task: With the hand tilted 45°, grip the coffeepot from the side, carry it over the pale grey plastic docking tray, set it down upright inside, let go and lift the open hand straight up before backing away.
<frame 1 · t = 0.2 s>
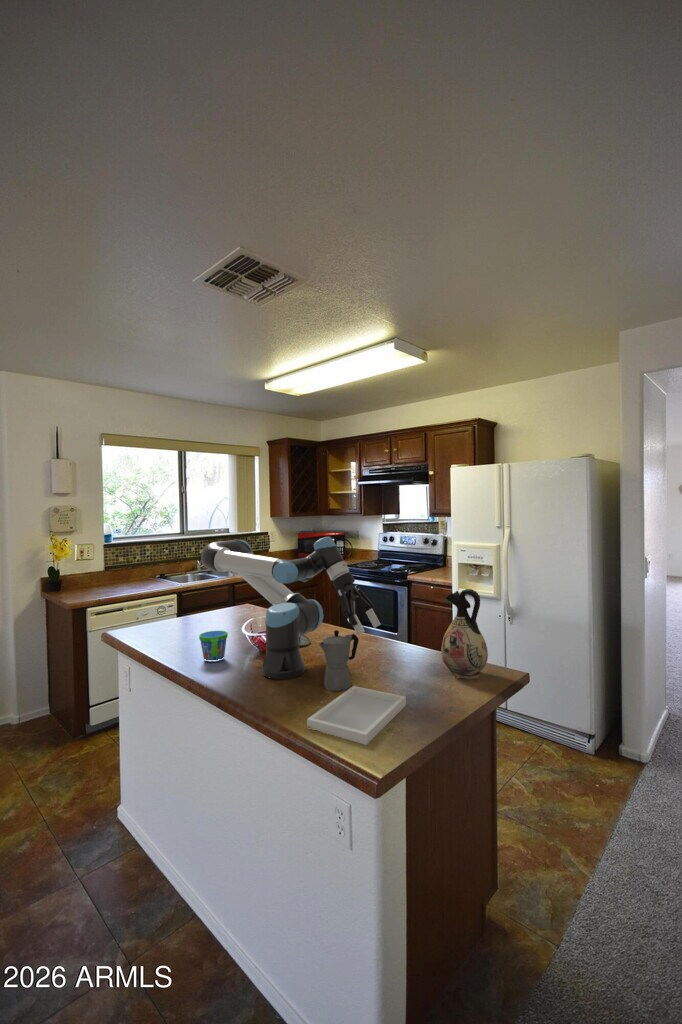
hand: (369, 629, 159), 15 cm above the table, tool tilted 35°, fingers open, 13 cm apart
coffeepot: (340, 685, 149), on the table, touching gripper
lid: (298, 644, 196), on the table
docking tray: (359, 716, 126), on the table
ceramic jug: (466, 676, 155), on the table
snack cup: (214, 660, 177), on the table
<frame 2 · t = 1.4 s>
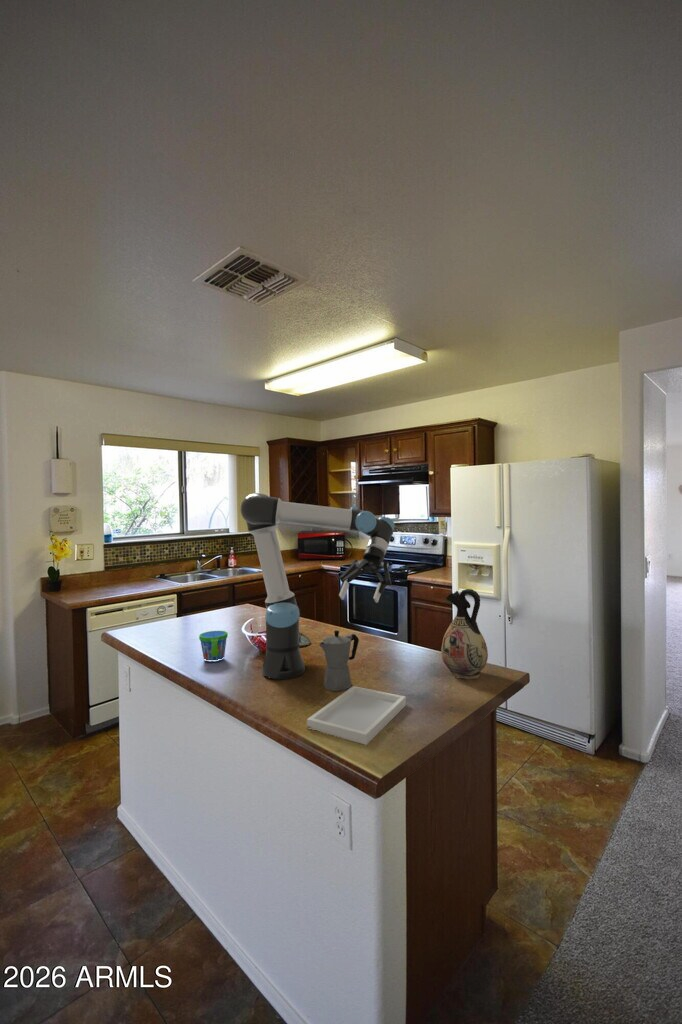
hand: (357, 599, 160), 26 cm above the table, tool tilted 45°, fingers open, 13 cm apart
coffeepot: (340, 685, 149), on the table
everything else where it was.
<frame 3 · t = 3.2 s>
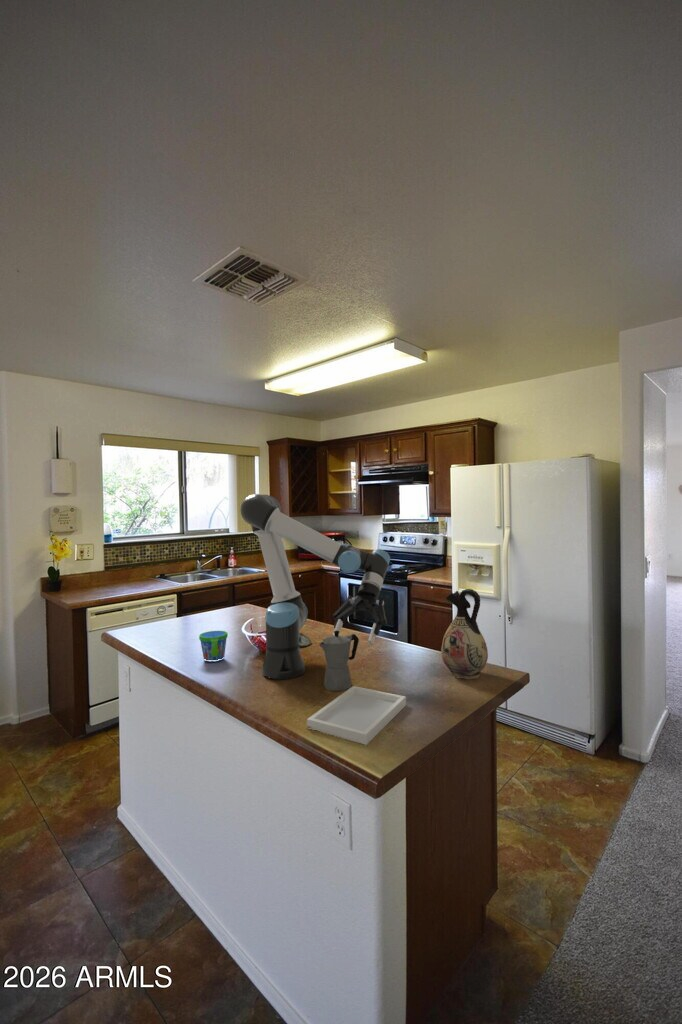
hand: (352, 640, 153), 13 cm above the table, tool tilted 45°, fingers open, 13 cm apart
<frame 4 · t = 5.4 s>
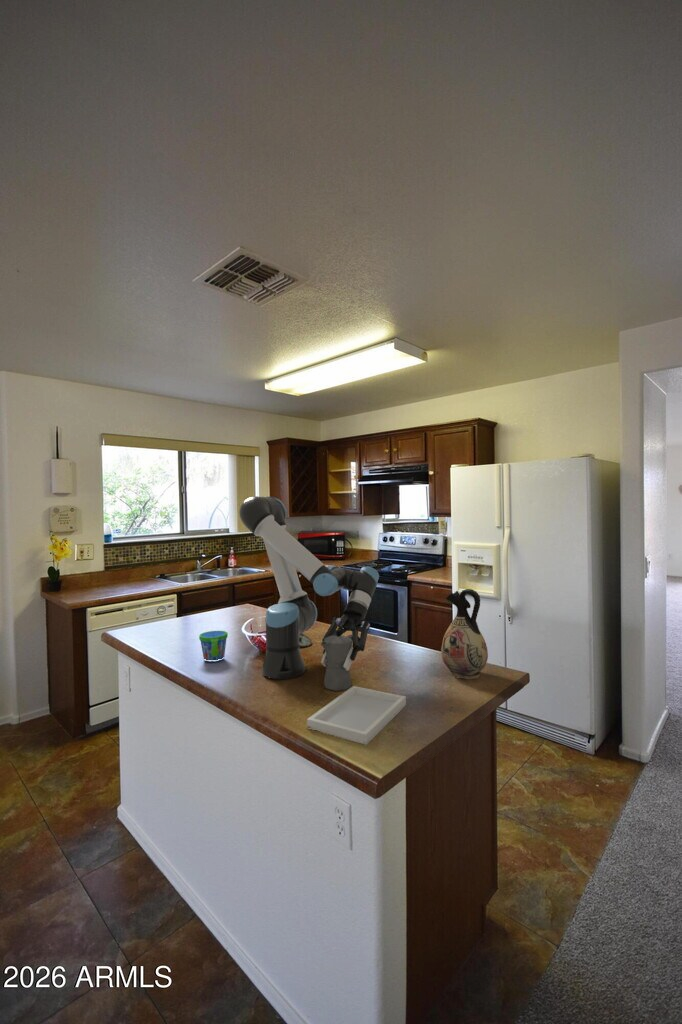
hand: (334, 666, 146), 7 cm above the table, tool tilted 45°, fingers closed on coffeepot, 8 cm apart
coffeepot: (340, 685, 149), on the table, touching gripper
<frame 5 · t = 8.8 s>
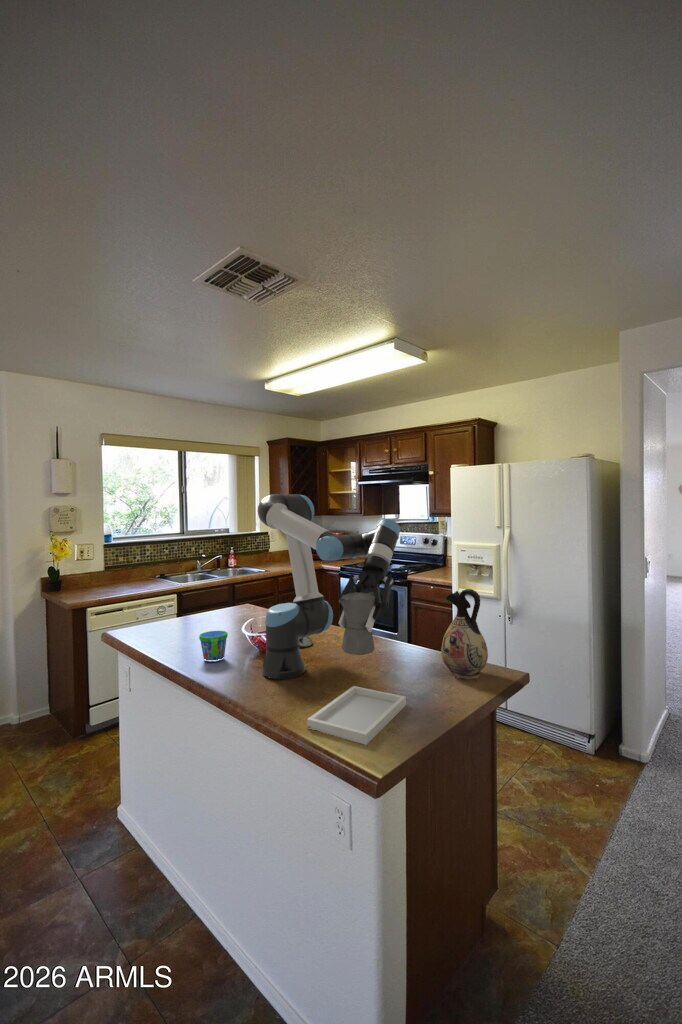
hand: (354, 627, 125), 25 cm above the table, tool tilted 45°, fingers closed on coffeepot, 8 cm apart
coffeepot: (361, 649, 129), point 18 cm above the table, touching gripper
when the fingers open (9 cm above the table, at t = 12.5 s): coffeepot drops 1 cm, resting on docking tray.
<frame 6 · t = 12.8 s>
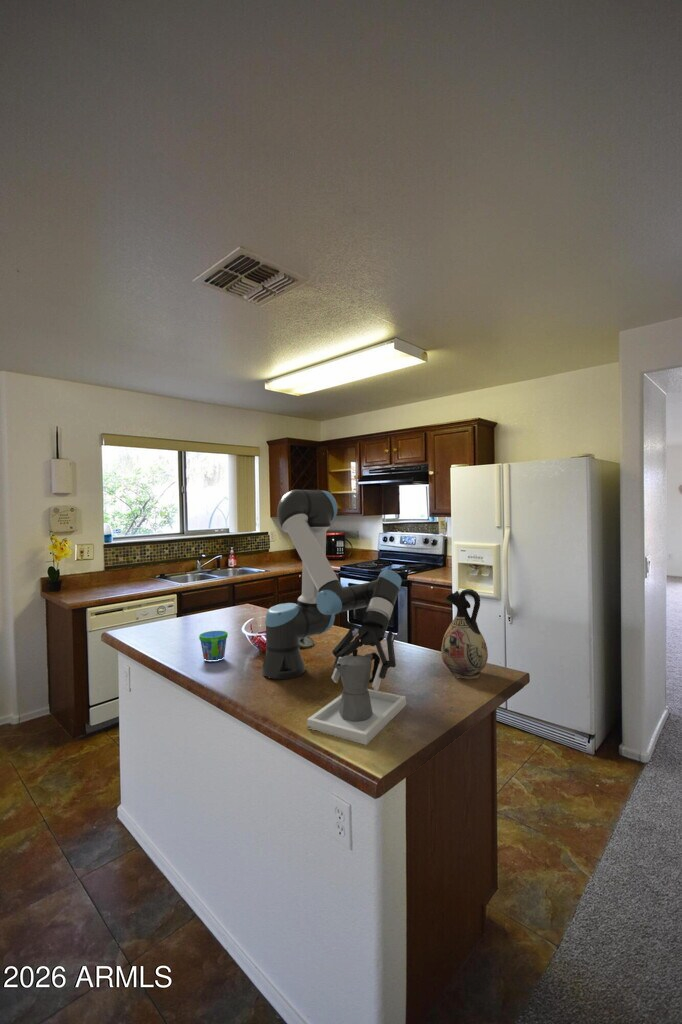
hand: (353, 684, 124), 10 cm above the table, tool tilted 45°, fingers open, 12 cm apart
coffeepot: (359, 713, 127), point 1 cm above the table, touching docking tray
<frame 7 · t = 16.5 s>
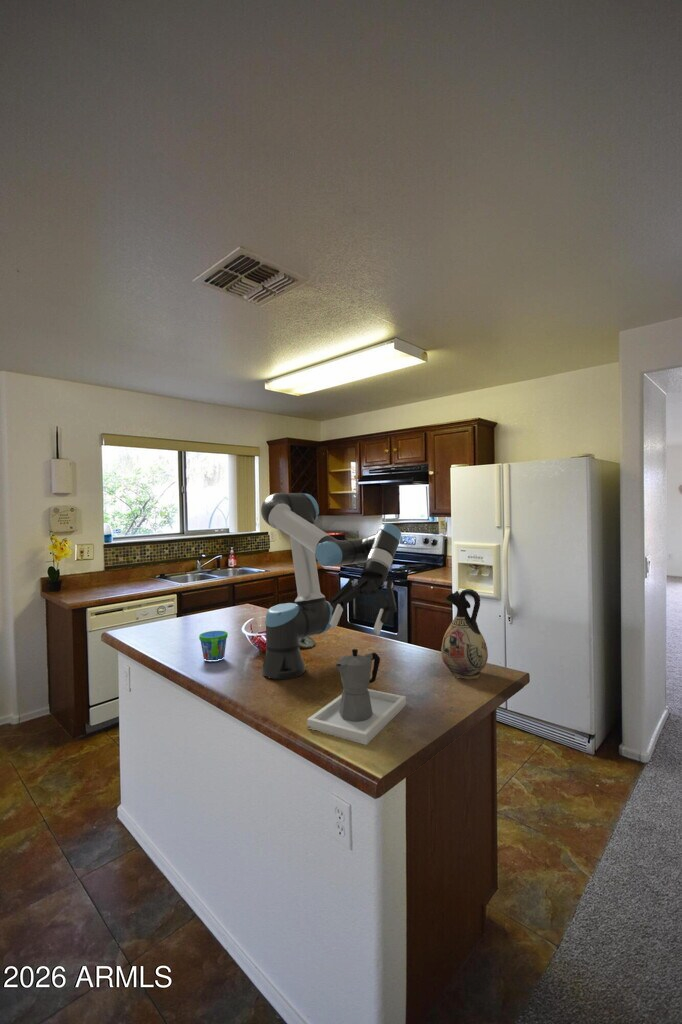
hand: (353, 629, 124), 25 cm above the table, tool tilted 45°, fingers open, 13 cm apart
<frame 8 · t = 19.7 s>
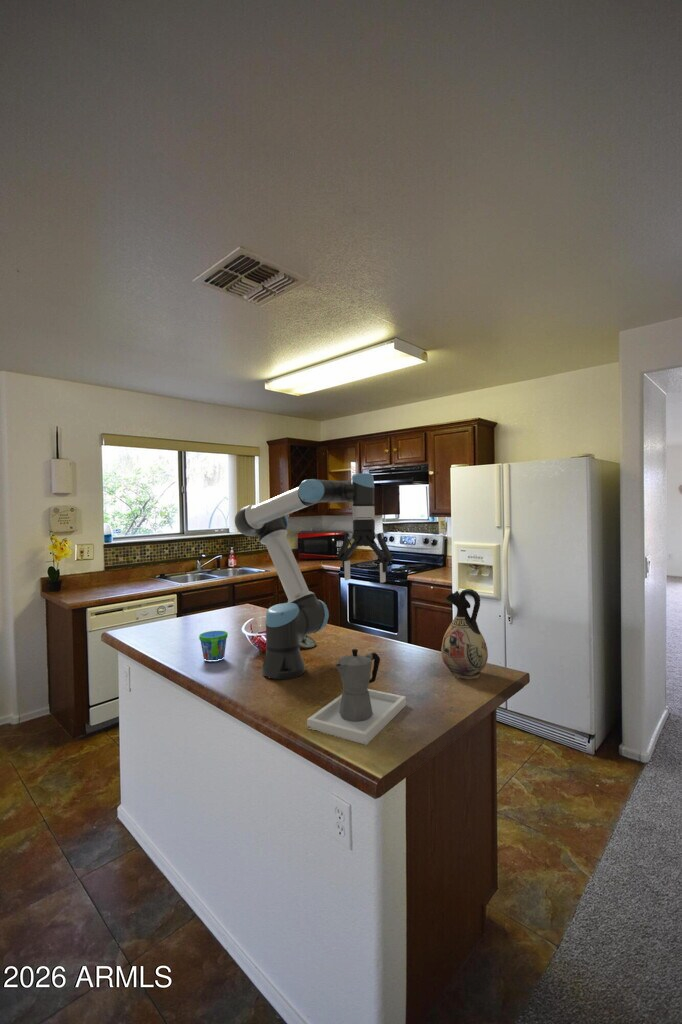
hand: (364, 580, 156), 33 cm above the table, tool pointing down, fingers open, 13 cm apart
at the end: coffeepot inside the target area on the docking tray (0.1 cm from its centre), point 0.6 cm above the docking tray's base; coffeepot tilted 0°; the gripper is holding nothing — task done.
